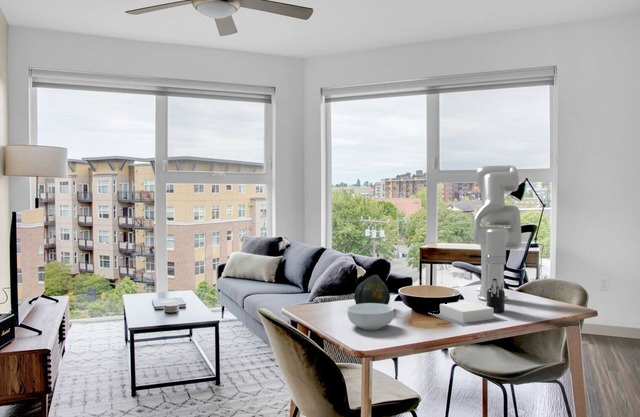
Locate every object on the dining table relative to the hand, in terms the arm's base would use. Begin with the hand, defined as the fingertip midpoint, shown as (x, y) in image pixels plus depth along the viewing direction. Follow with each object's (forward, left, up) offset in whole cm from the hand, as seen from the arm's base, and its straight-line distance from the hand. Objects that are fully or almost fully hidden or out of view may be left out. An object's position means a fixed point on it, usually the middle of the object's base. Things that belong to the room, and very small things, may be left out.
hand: (495, 304), depth 202 cm
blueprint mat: (+2, -16, -3) cm, 16 cm away
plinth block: (+2, -16, -3) cm, 16 cm away
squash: (-25, -42, -4) cm, 49 cm away
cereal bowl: (-2, -55, -4) cm, 55 cm away
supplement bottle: (0, 0, -4) cm, 4 cm away
